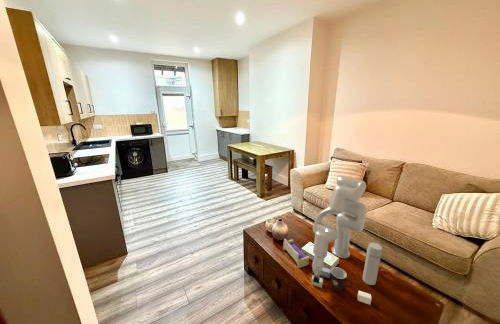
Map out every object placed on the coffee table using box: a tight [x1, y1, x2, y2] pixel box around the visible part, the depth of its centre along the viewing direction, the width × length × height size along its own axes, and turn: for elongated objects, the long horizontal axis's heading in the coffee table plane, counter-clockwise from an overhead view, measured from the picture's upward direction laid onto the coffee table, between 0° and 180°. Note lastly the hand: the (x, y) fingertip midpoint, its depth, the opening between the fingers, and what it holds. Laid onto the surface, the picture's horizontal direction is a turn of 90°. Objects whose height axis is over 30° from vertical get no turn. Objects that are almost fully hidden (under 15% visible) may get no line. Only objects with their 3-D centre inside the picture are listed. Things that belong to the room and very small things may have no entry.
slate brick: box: [320, 266, 331, 279], centre depth 128 cm, size 6×3×4 cm, turn 64°
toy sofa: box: [282, 238, 311, 269], centre depth 143 cm, size 21×9×10 cm, turn 21°
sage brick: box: [311, 274, 324, 289], centre depth 122 cm, size 6×3×4 cm, turn 64°
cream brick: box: [357, 290, 372, 306], centre depth 111 cm, size 6×3×4 cm, turn 65°
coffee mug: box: [330, 266, 353, 292], centre depth 118 cm, size 12×9×10 cm
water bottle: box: [362, 242, 383, 286], centre depth 122 cm, size 9×8×25 cm
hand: (317, 276), depth 120 cm, fingers open, 9 cm apart
